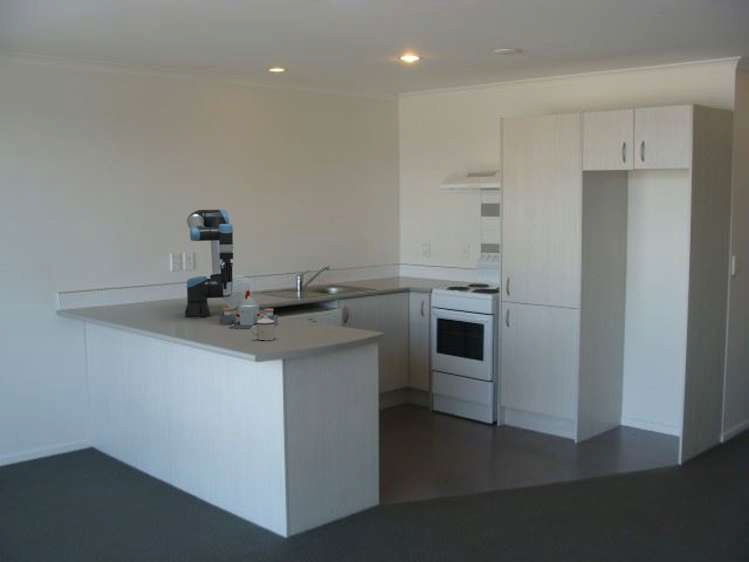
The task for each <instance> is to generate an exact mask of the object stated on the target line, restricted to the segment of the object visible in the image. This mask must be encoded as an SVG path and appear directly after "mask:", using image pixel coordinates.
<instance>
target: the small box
mask: <svg viewBox="0 0 749 562" xmlns="http://www.w3.org/2000/svg"><path fill="white" fill-rule="evenodd" d="M239 321H240V324H239V325H254V323H256V322H257V321H258V317H257V306H256V305H242V306H240V317H239Z"/></svg>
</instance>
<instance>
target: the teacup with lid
mask: <svg viewBox="0 0 749 562" xmlns="http://www.w3.org/2000/svg"><path fill="white" fill-rule="evenodd" d="M263 316H264V315H263ZM274 323H275V321H274V320H271V319H269V318H268V317H267V316H264V318H262V319H261V318H260V319H259V320H257V326H253V327H252V328H251V329H250V331H251V332H250V333H251V335H253V336H255V337H256V340H257V339H259V340H270V339H274V338H275V337H276V335H275V332H276V331H275V330H276V329H275V326H276V325H274ZM255 328H256V333H254V331H253V330H254V329H255ZM275 339H276V338H275ZM275 339H274V340H275ZM259 340H258V341H259Z"/></svg>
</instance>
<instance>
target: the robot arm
mask: <svg viewBox="0 0 749 562" xmlns="http://www.w3.org/2000/svg"><path fill="white" fill-rule="evenodd" d="M186 223H187V226H188V228H189V239H190V241H193V242H207V241H209V242H210V251H211V252H210V253H211V270H212V272H211V274H210V276H209V278H208V277H207V276H206V275H203V276H202V275H201V276H194V277H190V278H188V279H187V280H186V299H187V303H186V308H185V310H184V318H187V317H203V318H208V317H207V316H209V317H211V316H212V315H211V314H212V313H211V310H210V307H209V304H208V299H221V298H222V299H223V298H224V297H225V298H227V297H228V298H229V297H230V296H231V294H232V287H234V284H233V282H234V281H233V280H234V279H233V277H232V274H233V265H234V263H233V262H232V261H231V260H233V259H234V252H233V251H234V242H233V241H234V238H233V237H234V236H233V234H234V229H233V224H231V223H230V218H229V214H228V212H227V211H226V210H225V209H198V210H195V211H193V212H191V213H190V214H189V215H188V217H187V219H186ZM210 315H211V316H210Z"/></svg>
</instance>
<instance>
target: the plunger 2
mask: <svg viewBox="0 0 749 562" xmlns="http://www.w3.org/2000/svg"><path fill="white" fill-rule="evenodd" d="M264 311H265V315H266V316H267V317H273V315H274V308H264Z"/></svg>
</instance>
